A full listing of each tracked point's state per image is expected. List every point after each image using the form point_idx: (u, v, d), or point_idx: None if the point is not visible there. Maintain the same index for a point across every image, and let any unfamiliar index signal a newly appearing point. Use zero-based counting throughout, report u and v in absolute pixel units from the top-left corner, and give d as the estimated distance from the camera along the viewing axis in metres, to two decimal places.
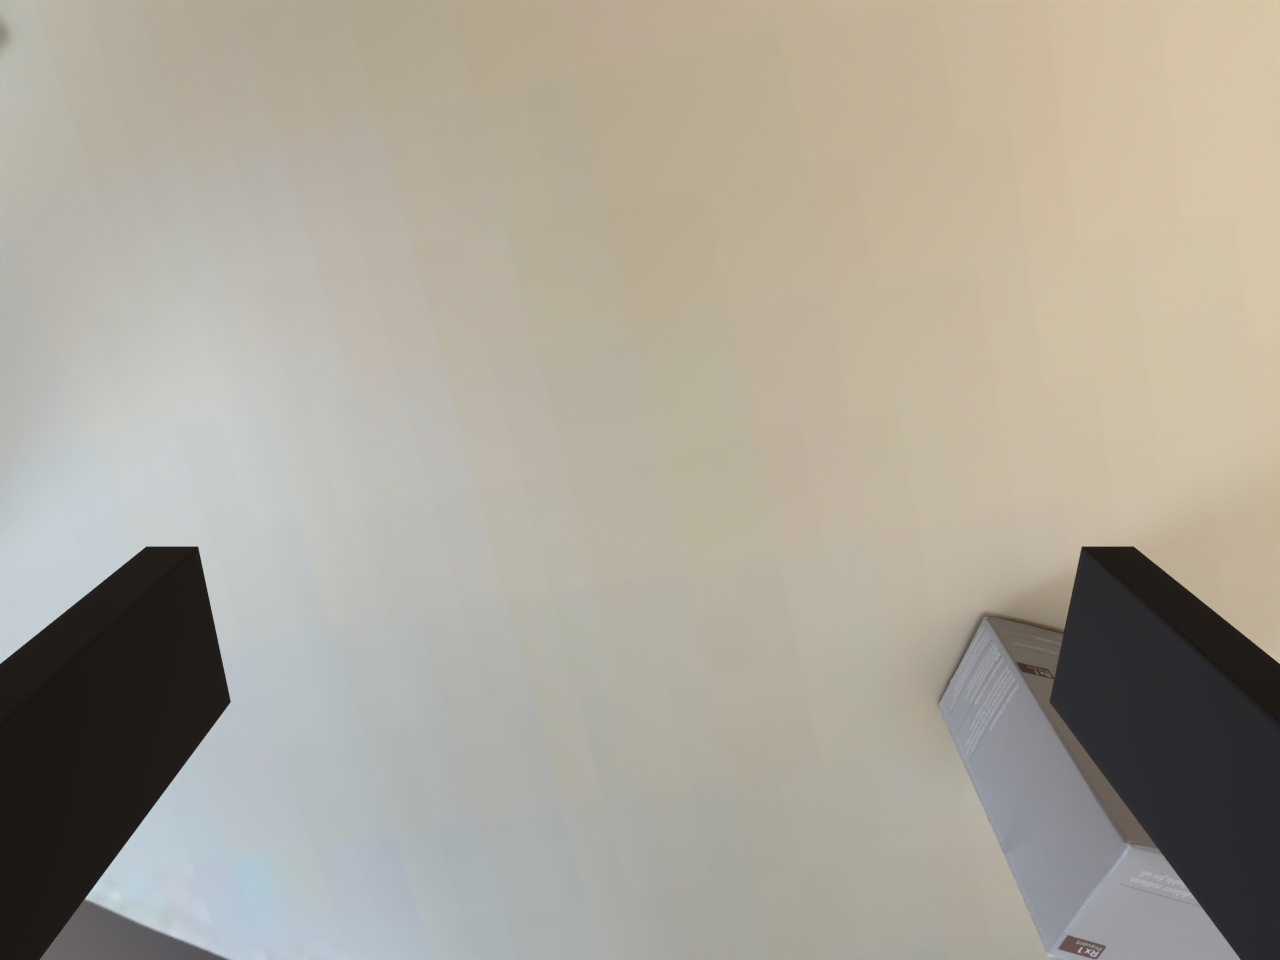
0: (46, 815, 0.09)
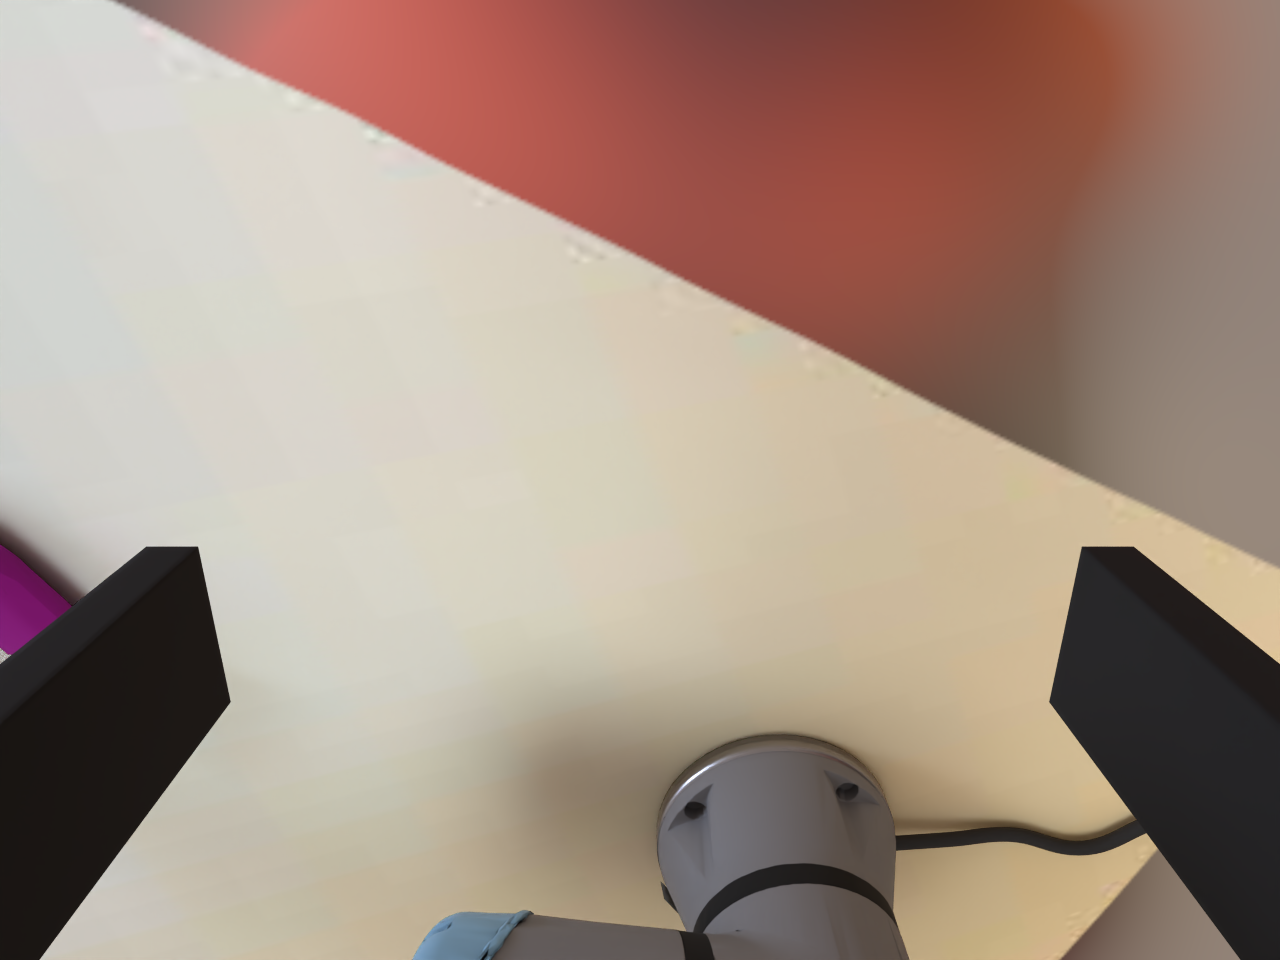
0: (46, 815, 0.09)
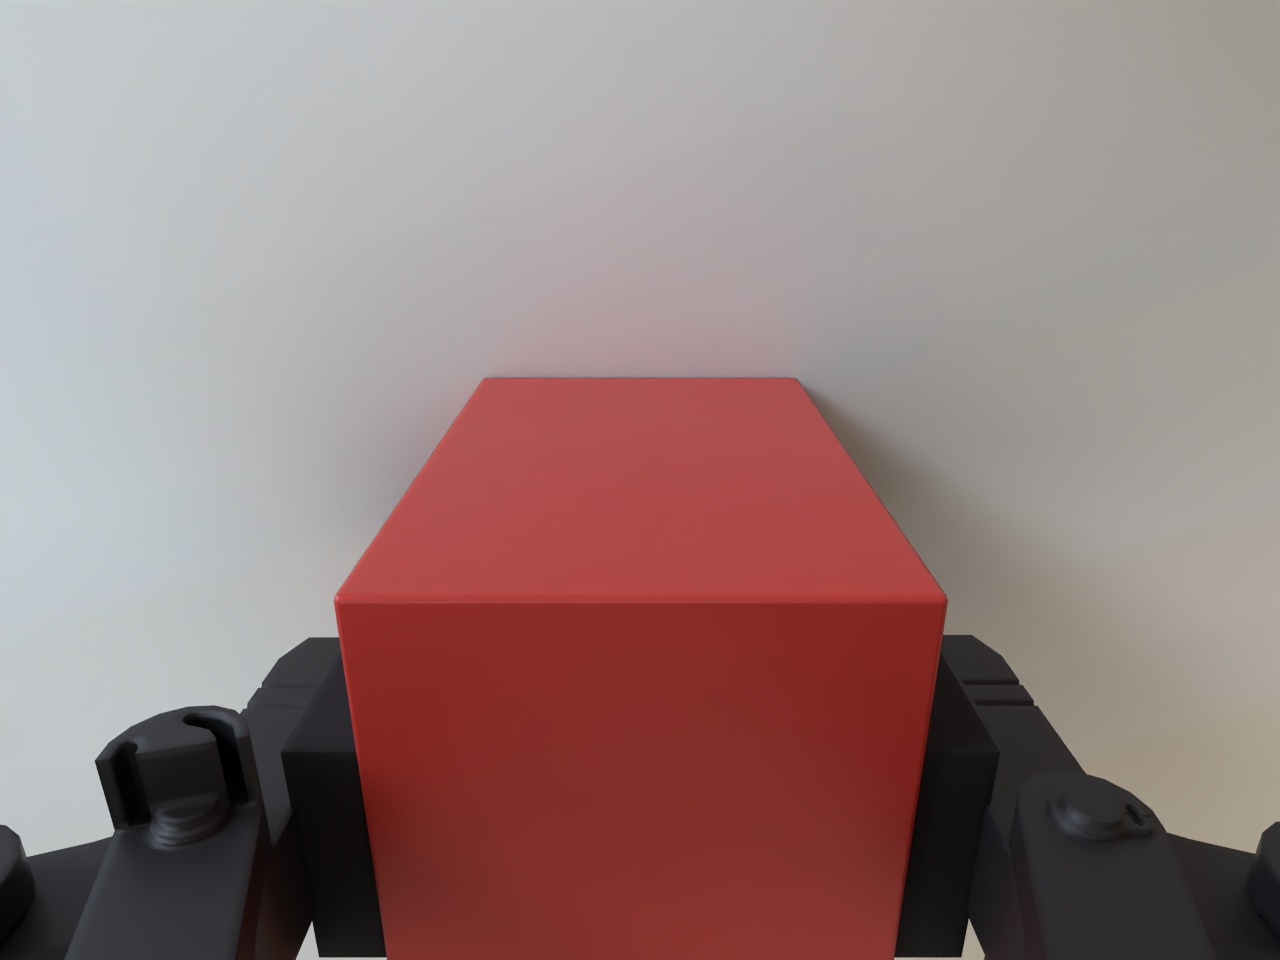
0: None
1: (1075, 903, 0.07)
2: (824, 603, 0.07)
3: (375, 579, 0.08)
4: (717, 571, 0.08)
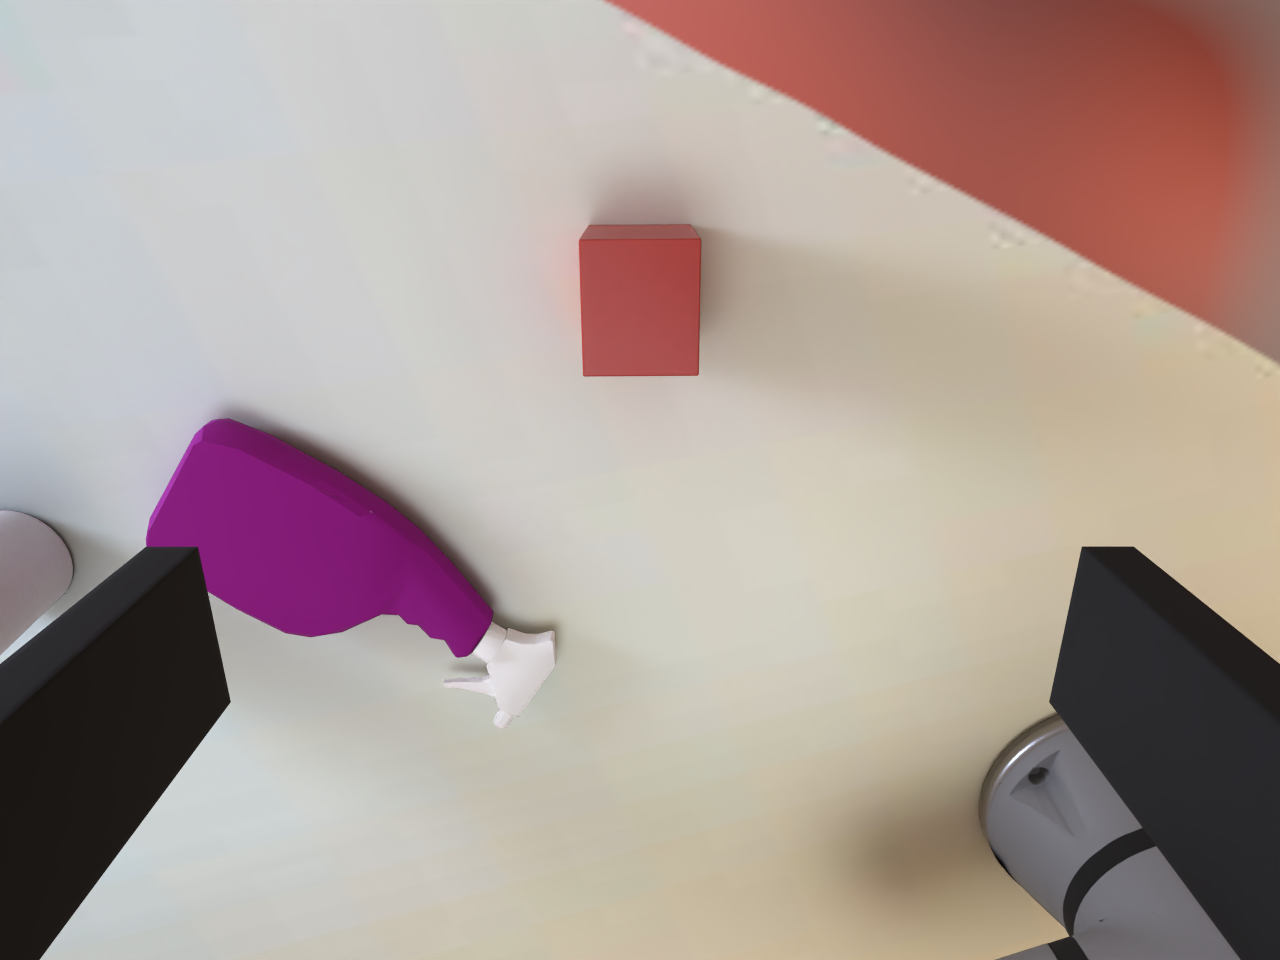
0: (47, 815, 0.09)
1: None
2: (675, 240, 0.37)
3: (585, 238, 0.38)
4: (655, 237, 0.38)
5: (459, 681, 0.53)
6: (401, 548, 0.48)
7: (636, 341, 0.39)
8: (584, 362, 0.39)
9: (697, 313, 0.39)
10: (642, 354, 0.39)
